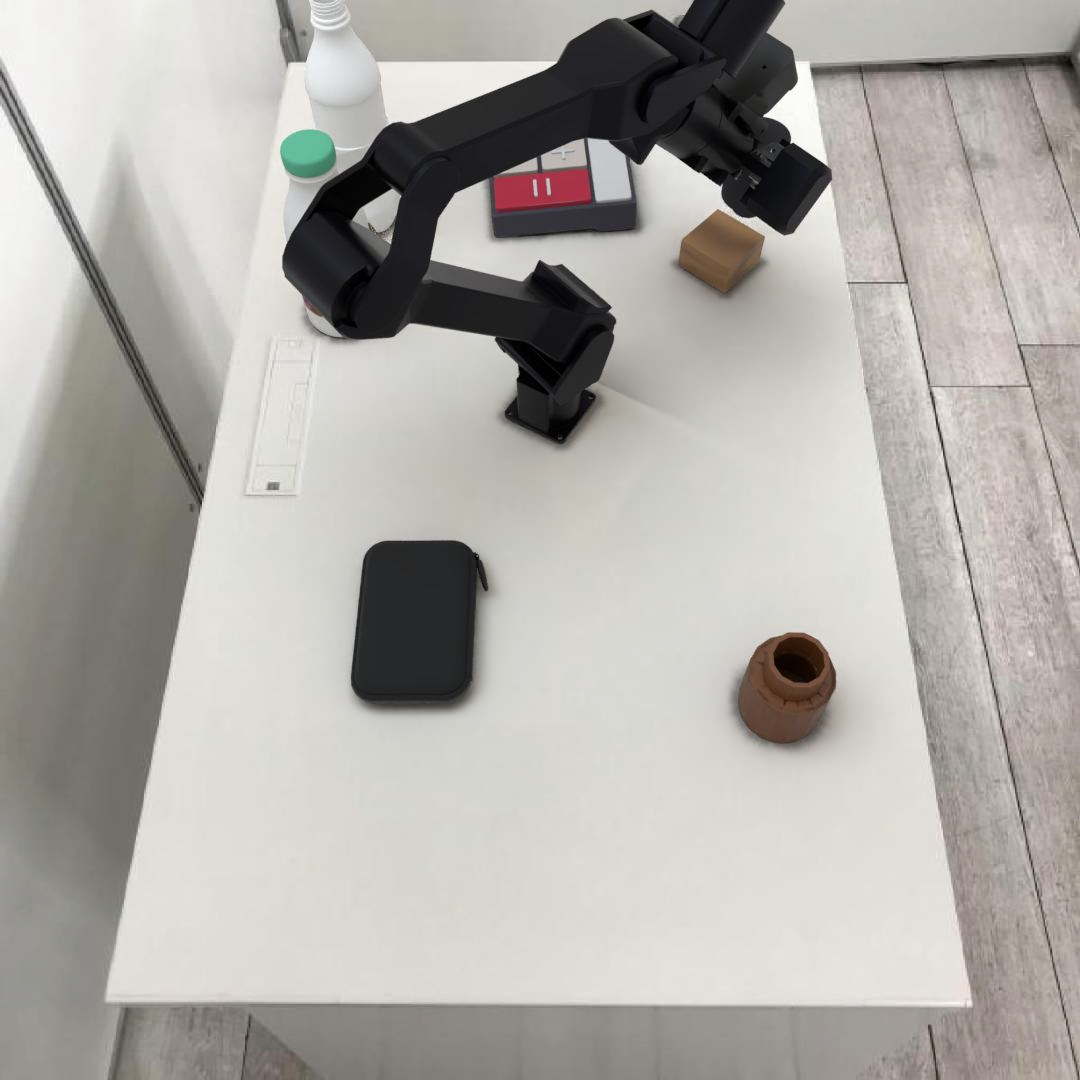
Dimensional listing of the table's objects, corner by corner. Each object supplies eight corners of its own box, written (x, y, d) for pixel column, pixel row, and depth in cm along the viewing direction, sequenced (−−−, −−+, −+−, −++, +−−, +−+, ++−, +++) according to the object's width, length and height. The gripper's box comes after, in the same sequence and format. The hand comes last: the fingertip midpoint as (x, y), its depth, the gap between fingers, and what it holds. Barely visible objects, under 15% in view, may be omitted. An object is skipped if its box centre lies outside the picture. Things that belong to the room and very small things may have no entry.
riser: (724, 293, 107) (728, 268, 104) (677, 265, 110) (680, 239, 107) (759, 262, 110) (765, 236, 107) (713, 234, 112) (717, 208, 109)
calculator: (486, 140, 115) (625, 126, 114) (490, 172, 118) (625, 159, 118) (490, 211, 109) (637, 196, 109) (494, 242, 113) (636, 229, 112)
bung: (755, 235, 97) (770, 163, 90) (707, 211, 99) (719, 138, 92) (785, 205, 99) (802, 132, 92) (739, 181, 101) (752, 108, 94)
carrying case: (485, 709, 85) (490, 550, 92) (483, 694, 82) (488, 531, 90) (351, 710, 85) (367, 551, 92) (345, 695, 82) (362, 532, 90)
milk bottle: (391, 285, 109) (359, 117, 92) (377, 342, 105) (342, 178, 88) (317, 280, 109) (271, 112, 92) (301, 337, 105) (250, 173, 88)
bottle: (798, 758, 82) (821, 716, 75) (723, 717, 84) (739, 672, 77) (832, 692, 85) (857, 646, 78) (759, 654, 87) (777, 605, 80)
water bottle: (393, 245, 112) (353, 23, 90) (327, 236, 113) (273, 14, 91) (411, 199, 115) (377, -26, 94) (347, 191, 116) (299, -34, 95)
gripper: (844, 81, 77) (902, 144, 90) (666, -31, 84) (744, 41, 97) (750, 216, 81) (818, 257, 94) (588, 97, 89) (673, 150, 102)
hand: (763, 172), depth 97 cm, fingers closed on bung, 5 cm apart
